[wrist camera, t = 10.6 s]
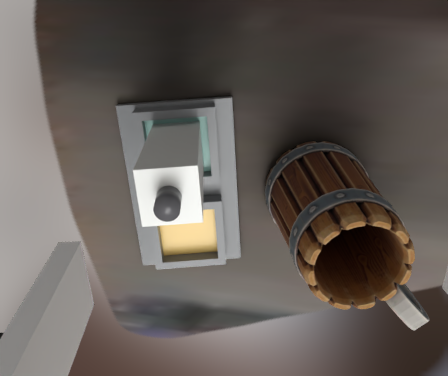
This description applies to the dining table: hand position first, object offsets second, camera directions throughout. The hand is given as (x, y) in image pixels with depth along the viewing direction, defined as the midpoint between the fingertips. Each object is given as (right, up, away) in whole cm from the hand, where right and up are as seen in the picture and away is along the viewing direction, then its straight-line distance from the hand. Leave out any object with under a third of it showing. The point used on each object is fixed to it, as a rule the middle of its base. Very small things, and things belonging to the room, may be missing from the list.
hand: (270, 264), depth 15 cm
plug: (-6, +7, +26) cm, 27 cm away
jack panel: (-6, +3, +29) cm, 29 cm away
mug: (+10, +1, +30) cm, 32 cm away
